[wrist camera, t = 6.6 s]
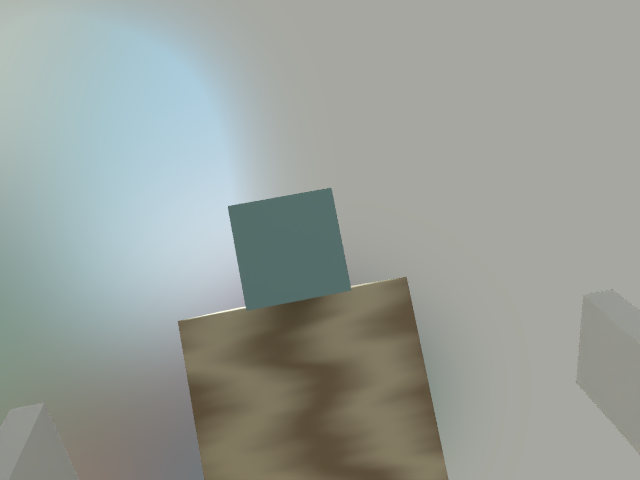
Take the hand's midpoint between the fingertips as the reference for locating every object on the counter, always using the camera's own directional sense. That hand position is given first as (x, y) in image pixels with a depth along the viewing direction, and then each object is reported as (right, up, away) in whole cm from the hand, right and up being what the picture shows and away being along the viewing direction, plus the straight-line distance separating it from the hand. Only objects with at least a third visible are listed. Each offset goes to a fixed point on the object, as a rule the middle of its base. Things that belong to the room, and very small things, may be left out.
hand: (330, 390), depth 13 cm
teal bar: (-2, 0, +17) cm, 17 cm away
